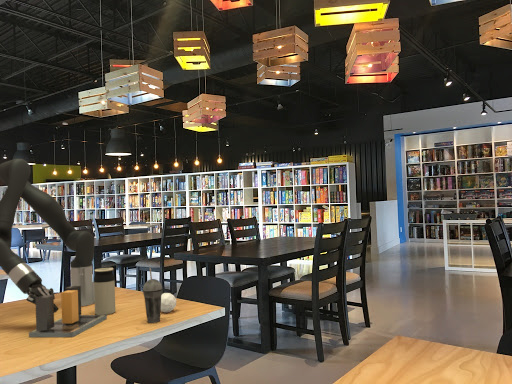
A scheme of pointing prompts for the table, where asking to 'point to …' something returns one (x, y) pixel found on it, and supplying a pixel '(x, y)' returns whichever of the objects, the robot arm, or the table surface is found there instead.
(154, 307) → the beverage cup
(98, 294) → the travel mug
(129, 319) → the table surface
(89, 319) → the panel
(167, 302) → the geometric ball
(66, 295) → the handle
